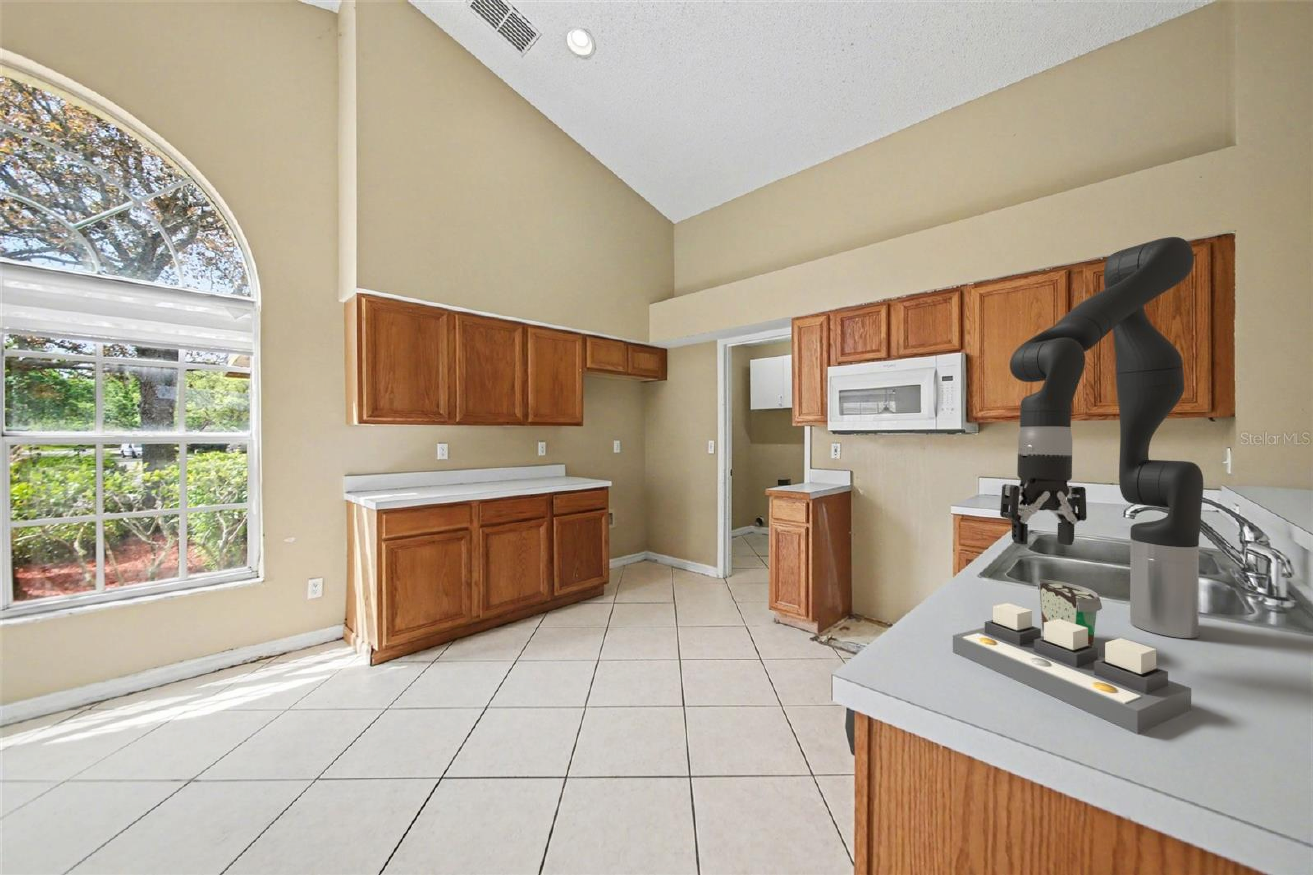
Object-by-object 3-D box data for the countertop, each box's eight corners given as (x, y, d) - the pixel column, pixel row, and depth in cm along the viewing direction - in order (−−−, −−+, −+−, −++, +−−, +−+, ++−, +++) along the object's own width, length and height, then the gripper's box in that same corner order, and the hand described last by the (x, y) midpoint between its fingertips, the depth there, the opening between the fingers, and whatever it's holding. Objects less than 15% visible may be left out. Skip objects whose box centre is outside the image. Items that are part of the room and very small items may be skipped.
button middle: (1058, 635, 79) (1058, 618, 79) (1087, 645, 75) (1088, 628, 75) (1043, 639, 78) (1043, 622, 78) (1072, 650, 74) (1073, 632, 74)
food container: (1120, 660, 81) (1120, 602, 81) (1079, 657, 82) (1079, 600, 82) (1073, 631, 93) (1073, 580, 93) (1037, 628, 94) (1037, 578, 94)
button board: (1003, 638, 90) (1003, 612, 90) (1191, 709, 67) (1191, 674, 67) (952, 652, 85) (952, 624, 85) (1137, 734, 62) (1137, 695, 61)
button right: (1120, 656, 72) (1120, 638, 72) (1156, 668, 68) (1156, 649, 68) (1105, 661, 70) (1105, 642, 70) (1141, 674, 66) (1141, 654, 66)
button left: (1007, 618, 86) (1007, 603, 86) (1031, 626, 83) (1031, 610, 83) (993, 621, 85) (993, 606, 85) (1017, 630, 81) (1017, 614, 81)
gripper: (1061, 453, 89) (1060, 540, 89) (990, 451, 88) (988, 539, 87) (1102, 454, 81) (1100, 549, 81) (1025, 452, 80) (1023, 548, 80)
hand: (1042, 544), depth 84 cm, fingers open, 8 cm apart
